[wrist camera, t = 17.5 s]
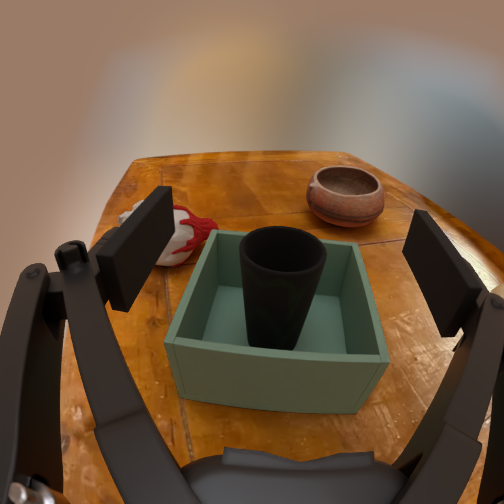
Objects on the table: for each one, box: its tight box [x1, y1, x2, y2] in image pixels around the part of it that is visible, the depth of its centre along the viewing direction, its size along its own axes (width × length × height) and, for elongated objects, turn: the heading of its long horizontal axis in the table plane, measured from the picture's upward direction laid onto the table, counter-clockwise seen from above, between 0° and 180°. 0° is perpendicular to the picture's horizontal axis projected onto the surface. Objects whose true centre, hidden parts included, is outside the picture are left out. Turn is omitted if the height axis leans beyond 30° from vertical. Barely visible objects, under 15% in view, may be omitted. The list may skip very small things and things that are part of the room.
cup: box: [239, 226, 327, 351], centre depth 30 cm, size 8×8×12 cm
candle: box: [118, 200, 219, 267], centre depth 45 cm, size 9×11×15 cm
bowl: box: [306, 165, 384, 227], centre depth 57 cm, size 16×16×10 cm
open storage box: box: [164, 229, 390, 414], centre depth 31 cm, size 18×18×9 cm
